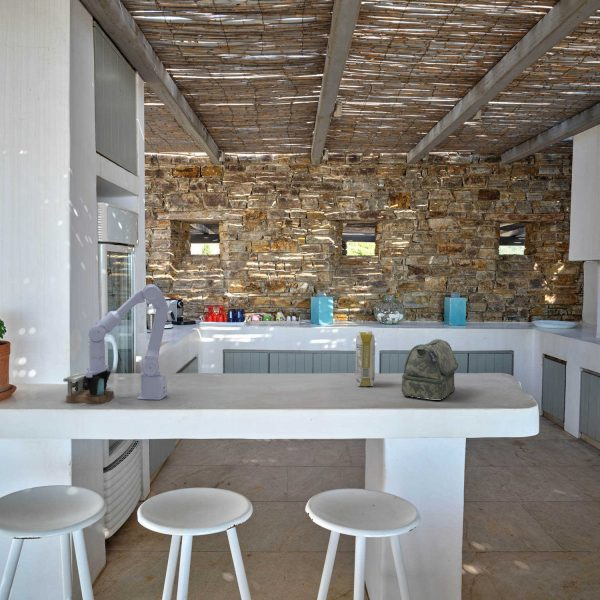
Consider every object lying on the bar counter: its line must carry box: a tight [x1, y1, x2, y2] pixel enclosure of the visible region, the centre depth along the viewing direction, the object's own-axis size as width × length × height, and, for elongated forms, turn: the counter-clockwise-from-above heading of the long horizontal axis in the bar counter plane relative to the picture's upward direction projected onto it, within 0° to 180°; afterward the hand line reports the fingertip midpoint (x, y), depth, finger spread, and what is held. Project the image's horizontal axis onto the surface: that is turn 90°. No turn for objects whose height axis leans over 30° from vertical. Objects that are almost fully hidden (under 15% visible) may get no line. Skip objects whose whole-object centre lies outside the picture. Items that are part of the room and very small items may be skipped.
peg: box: [96, 378, 105, 395], centre depth 211 cm, size 4×4×8 cm
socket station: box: [63, 373, 115, 405], centre depth 212 cm, size 16×10×9 cm, turn 85°
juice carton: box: [354, 330, 376, 387], centre depth 241 cm, size 9×8×24 cm
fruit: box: [72, 375, 110, 392], centre depth 227 cm, size 9×8×15 cm
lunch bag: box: [401, 338, 459, 399], centre depth 226 cm, size 26×18×22 cm
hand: (98, 392), depth 211 cm, fingers open, 7 cm apart
